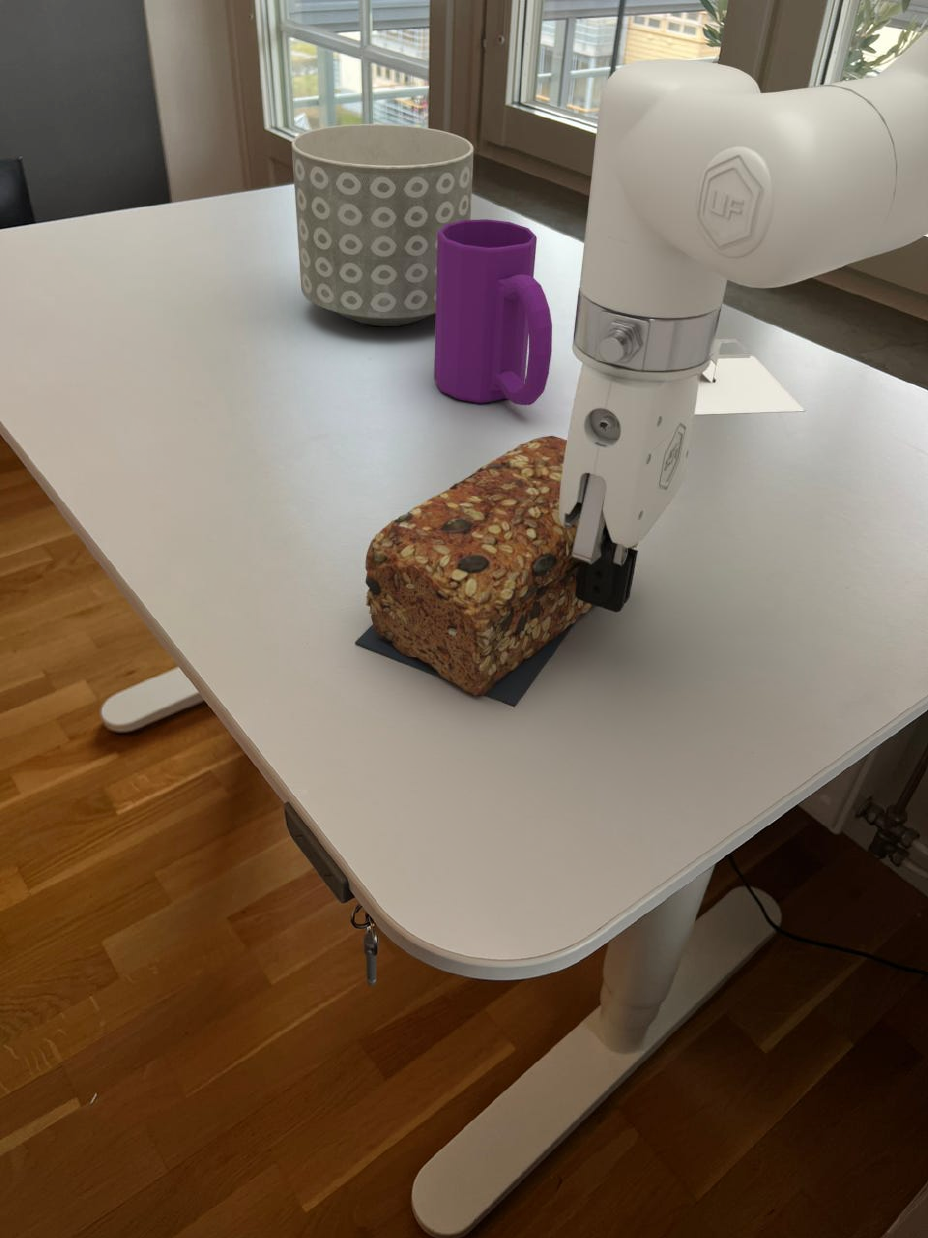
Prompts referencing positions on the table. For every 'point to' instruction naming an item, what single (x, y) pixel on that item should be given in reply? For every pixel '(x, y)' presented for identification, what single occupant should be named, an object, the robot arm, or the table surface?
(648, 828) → the table surface
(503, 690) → the corner pad
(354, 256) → the planter
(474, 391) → the mug
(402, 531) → the bread
